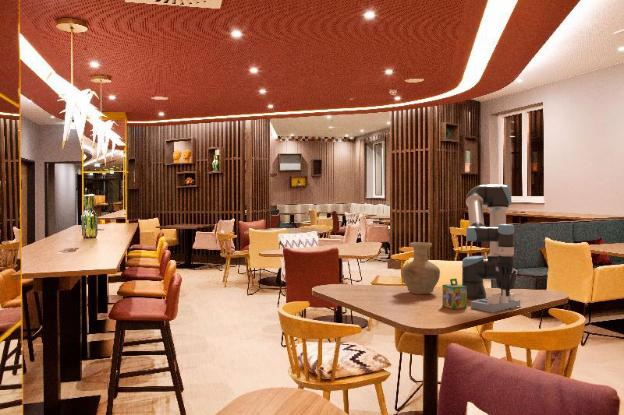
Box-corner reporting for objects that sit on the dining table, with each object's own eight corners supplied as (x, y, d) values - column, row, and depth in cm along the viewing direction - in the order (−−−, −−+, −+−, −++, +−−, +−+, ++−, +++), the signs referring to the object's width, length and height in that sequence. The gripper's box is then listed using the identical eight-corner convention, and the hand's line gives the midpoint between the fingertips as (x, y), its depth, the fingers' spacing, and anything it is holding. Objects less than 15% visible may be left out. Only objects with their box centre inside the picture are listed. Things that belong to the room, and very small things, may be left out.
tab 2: (502, 306, 270) (502, 294, 270) (495, 304, 274) (495, 293, 274) (506, 305, 273) (506, 293, 272) (499, 304, 276) (500, 292, 276)
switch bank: (492, 312, 263) (492, 305, 263) (470, 308, 274) (470, 300, 274) (520, 306, 278) (520, 299, 278) (498, 302, 288) (498, 295, 288)
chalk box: (454, 309, 270) (454, 281, 269) (441, 306, 278) (441, 278, 277) (467, 308, 274) (467, 279, 274) (454, 304, 282) (455, 277, 282)
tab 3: (510, 304, 275) (510, 292, 274) (503, 303, 278) (503, 291, 278) (514, 303, 277) (514, 291, 277) (507, 302, 280) (507, 290, 280)
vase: (397, 295, 309) (398, 244, 308) (405, 289, 329) (405, 241, 329) (437, 298, 301) (437, 245, 300) (442, 291, 322) (442, 242, 321)
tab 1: (494, 307, 266) (494, 295, 266) (487, 306, 270) (487, 294, 269) (498, 307, 268) (498, 294, 268) (491, 305, 272) (491, 293, 272)
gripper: (489, 254, 266) (489, 301, 266) (513, 256, 255) (512, 305, 256) (498, 253, 270) (498, 299, 271) (522, 255, 260) (521, 303, 260)
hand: (505, 302), depth 263 cm, fingers closed
